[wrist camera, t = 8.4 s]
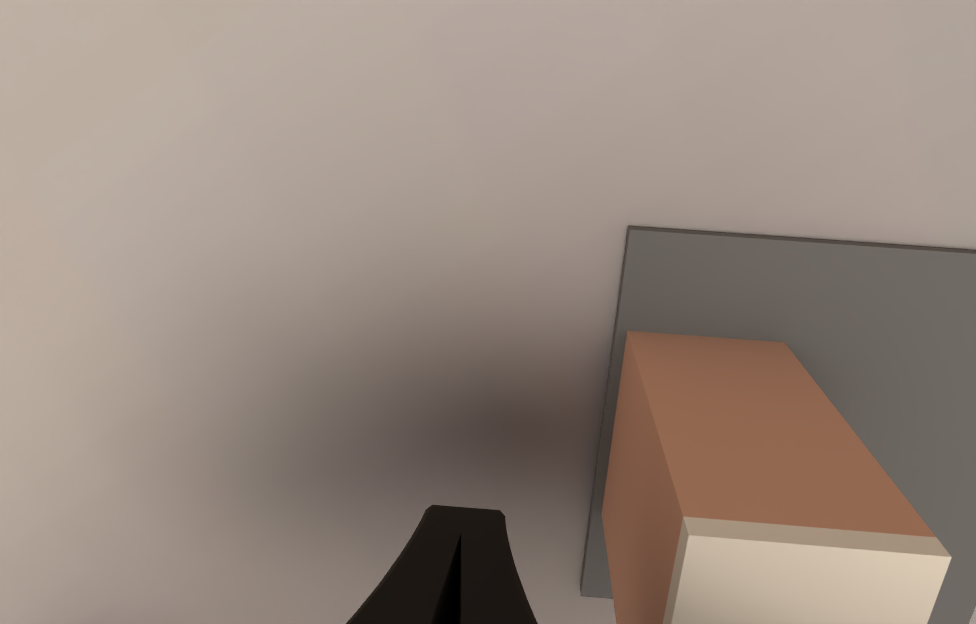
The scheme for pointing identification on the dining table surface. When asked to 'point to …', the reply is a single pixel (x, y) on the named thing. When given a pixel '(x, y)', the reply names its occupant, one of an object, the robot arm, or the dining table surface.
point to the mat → (829, 359)
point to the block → (752, 497)
